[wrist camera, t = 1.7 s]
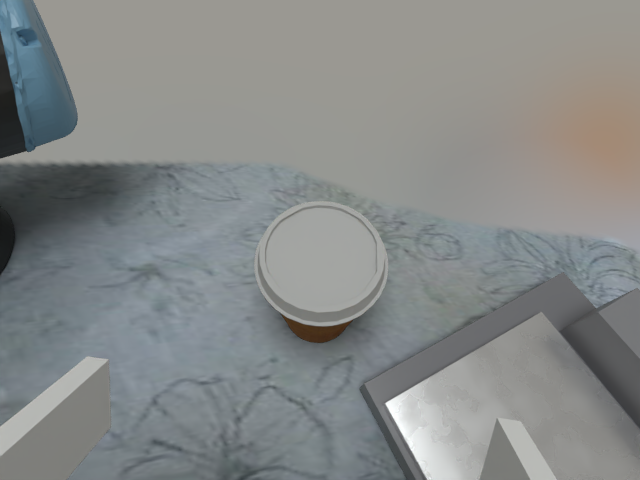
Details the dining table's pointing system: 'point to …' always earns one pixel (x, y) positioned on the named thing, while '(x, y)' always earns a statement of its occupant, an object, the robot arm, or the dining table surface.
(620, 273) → the dining table surface
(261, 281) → the disposable coffee cup
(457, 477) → the scale pan
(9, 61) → the robot arm
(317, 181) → the dining table surface
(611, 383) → the kitchen scale
